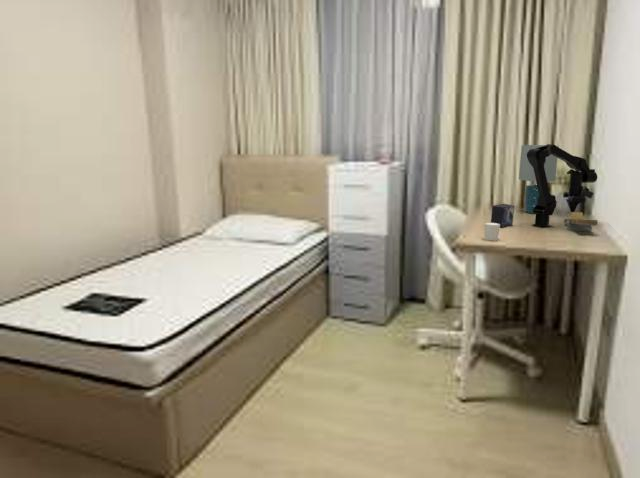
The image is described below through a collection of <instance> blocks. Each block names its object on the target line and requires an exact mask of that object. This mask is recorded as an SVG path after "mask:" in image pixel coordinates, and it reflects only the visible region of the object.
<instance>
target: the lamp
mask: <svg viewBox="0 0 640 478" xmlns="http://www.w3.org/2000/svg"><path fill="white" fill-rule="evenodd" d="M545 145H546V144H522V145H521V149H520V159H519V161H520V162H519V172H518V180H521V181H526V182H533V184H528V185H526V186H525V191H524V211H525V212H526V213H529V214H535V215H536V214H537V213H533V208H534V207H535V206H536V205H537V204H538V197H539V191H538V187H537V182H536V178H535V173H534V169H533V167H532V166H531V164H530V163H529V161H528V159H527V153H528V151H529V150H530V149H535V148H539V147H542V146H545ZM556 146H557V147H559V145H556ZM559 148H560V147H559ZM557 167H558V158H557V157H555V156H554V155H552V154H551V155H550V156H548V157H546V161H545V164H544V168H545V173H546V178H547V182H548V183H549V182H555V181H556V177H557V169H558V168H557Z"/></svg>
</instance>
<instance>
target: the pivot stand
mask: <svg viewBox="0 0 640 478" xmlns="http://www.w3.org/2000/svg"><path fill="white" fill-rule="evenodd" d="M570 222H571V221H570V220H568V221H567V223H565V226H566V230H567V231H569V232H578V233H577V235H578V236H585V235H593V236H594V233H592V230H593V225H581V224H570ZM586 231H591V232H586Z"/></svg>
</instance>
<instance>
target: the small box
mask: <svg viewBox="0 0 640 478" xmlns="http://www.w3.org/2000/svg"><path fill="white" fill-rule="evenodd" d="M514 210H515V205H512V204H507V203H500V204H494V205H492V206H491V217H490V218H491V219H490V223H498V224H500V229H501V228H506V227H507V226H508V227H512V226H513V222H514V212H515V211H514ZM508 227H507V228H508Z"/></svg>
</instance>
